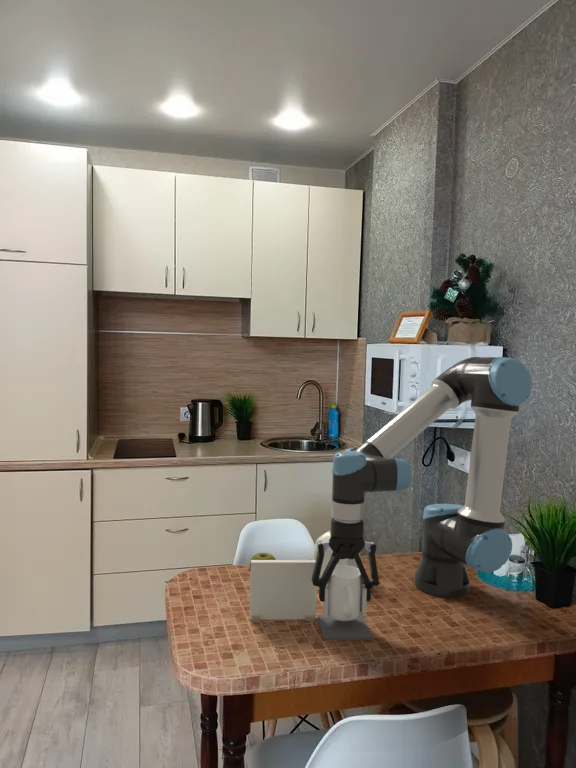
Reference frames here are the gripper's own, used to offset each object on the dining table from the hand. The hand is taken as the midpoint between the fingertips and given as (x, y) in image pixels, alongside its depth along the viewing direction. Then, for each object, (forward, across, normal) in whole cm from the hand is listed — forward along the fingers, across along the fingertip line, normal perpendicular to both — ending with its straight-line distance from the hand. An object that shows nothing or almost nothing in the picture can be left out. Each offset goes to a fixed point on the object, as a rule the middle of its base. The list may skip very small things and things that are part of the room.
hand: (344, 614), depth 133 cm
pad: (+3, 0, 0) cm, 3 cm away
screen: (+3, +14, -6) cm, 15 cm away
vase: (+4, -3, -30) cm, 30 cm away
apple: (+4, +18, -29) cm, 34 cm away
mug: (+1, 0, 0) cm, 1 cm away
